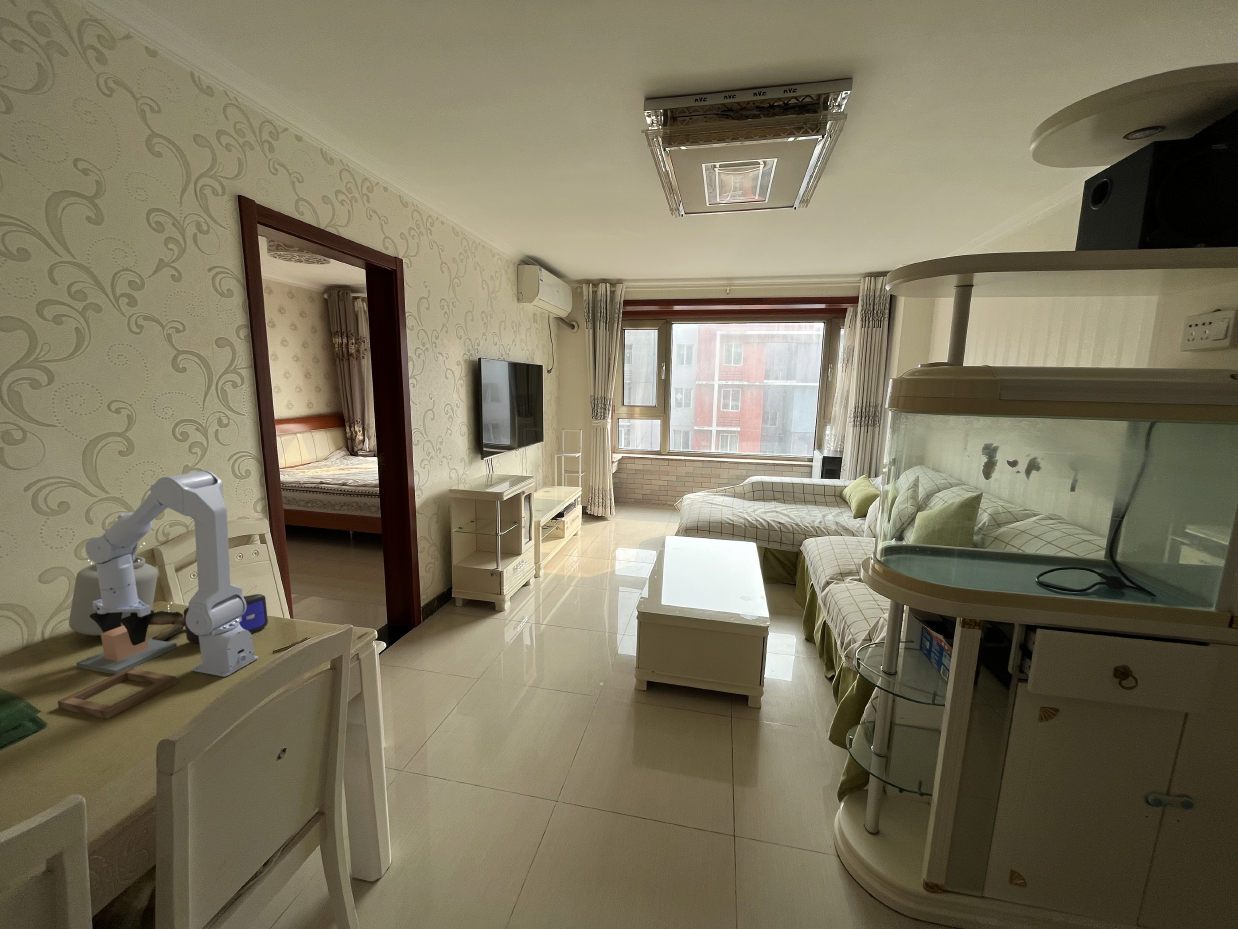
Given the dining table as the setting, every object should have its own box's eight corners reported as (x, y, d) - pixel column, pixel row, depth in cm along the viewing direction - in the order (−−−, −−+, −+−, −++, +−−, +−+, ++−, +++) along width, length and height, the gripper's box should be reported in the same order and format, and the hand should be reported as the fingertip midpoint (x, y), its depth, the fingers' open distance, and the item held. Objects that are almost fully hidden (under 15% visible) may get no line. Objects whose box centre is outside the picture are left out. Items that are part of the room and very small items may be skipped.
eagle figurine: (186, 618, 132) (141, 626, 124) (195, 599, 130) (150, 605, 122) (195, 640, 129) (149, 649, 121) (204, 621, 127) (158, 629, 119)
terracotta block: (148, 648, 117) (144, 624, 117) (117, 661, 112) (113, 636, 111) (136, 645, 118) (132, 622, 118) (104, 658, 113) (100, 634, 112)
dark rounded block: (185, 650, 119) (180, 613, 117) (188, 642, 123) (183, 605, 121) (268, 632, 128) (264, 597, 126) (268, 625, 131) (265, 591, 130)
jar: (172, 607, 141) (161, 522, 137) (175, 626, 130) (162, 534, 126) (74, 629, 128) (59, 535, 124) (68, 651, 117) (51, 549, 113)
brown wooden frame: (176, 683, 106) (175, 676, 106) (107, 719, 94) (106, 712, 94) (130, 674, 109) (130, 667, 109) (58, 708, 97) (57, 701, 97)
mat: (176, 647, 120) (176, 643, 120) (117, 674, 108) (116, 670, 108) (139, 640, 123) (138, 636, 122) (77, 667, 111) (76, 662, 111)
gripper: (72, 588, 111) (81, 645, 113) (120, 595, 107) (129, 654, 109) (110, 577, 117) (119, 630, 119) (157, 583, 114) (165, 638, 116)
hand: (126, 641), depth 115 cm, fingers open, 7 cm apart
